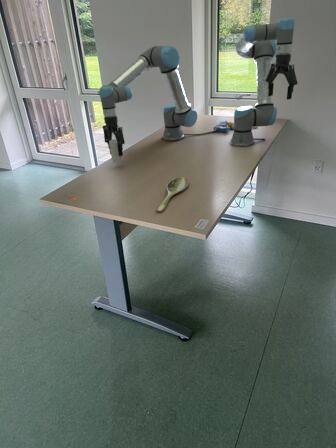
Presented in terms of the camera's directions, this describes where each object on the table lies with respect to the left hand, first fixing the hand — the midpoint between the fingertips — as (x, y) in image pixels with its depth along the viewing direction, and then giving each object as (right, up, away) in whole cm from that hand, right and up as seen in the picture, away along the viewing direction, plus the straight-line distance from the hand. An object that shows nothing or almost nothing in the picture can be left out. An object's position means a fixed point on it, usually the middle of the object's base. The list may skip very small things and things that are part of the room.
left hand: (116, 154), depth 201 cm
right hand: (+91, +27, -21) cm, 98 cm away
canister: (0, -3, +2) cm, 4 cm away
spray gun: (+75, +31, +56) cm, 99 cm away
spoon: (+33, -28, -34) cm, 55 cm away
